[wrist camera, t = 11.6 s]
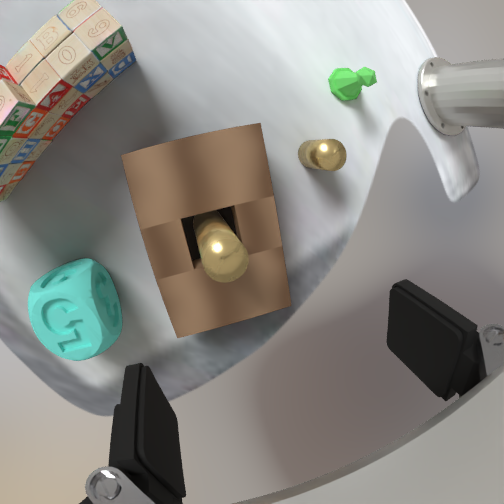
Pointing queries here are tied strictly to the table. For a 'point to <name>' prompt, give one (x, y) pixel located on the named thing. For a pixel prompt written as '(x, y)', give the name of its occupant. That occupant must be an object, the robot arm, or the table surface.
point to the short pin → (322, 154)
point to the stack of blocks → (55, 82)
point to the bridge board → (200, 201)
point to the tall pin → (219, 247)
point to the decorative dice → (75, 310)
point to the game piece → (350, 82)
